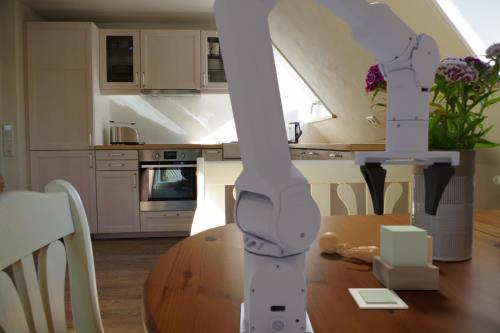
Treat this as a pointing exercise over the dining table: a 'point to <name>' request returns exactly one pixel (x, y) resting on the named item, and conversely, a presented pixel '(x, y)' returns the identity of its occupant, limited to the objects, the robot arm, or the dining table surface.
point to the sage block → (403, 245)
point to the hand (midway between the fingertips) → (404, 214)
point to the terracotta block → (429, 249)
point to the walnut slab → (406, 276)
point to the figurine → (345, 246)
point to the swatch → (377, 299)
